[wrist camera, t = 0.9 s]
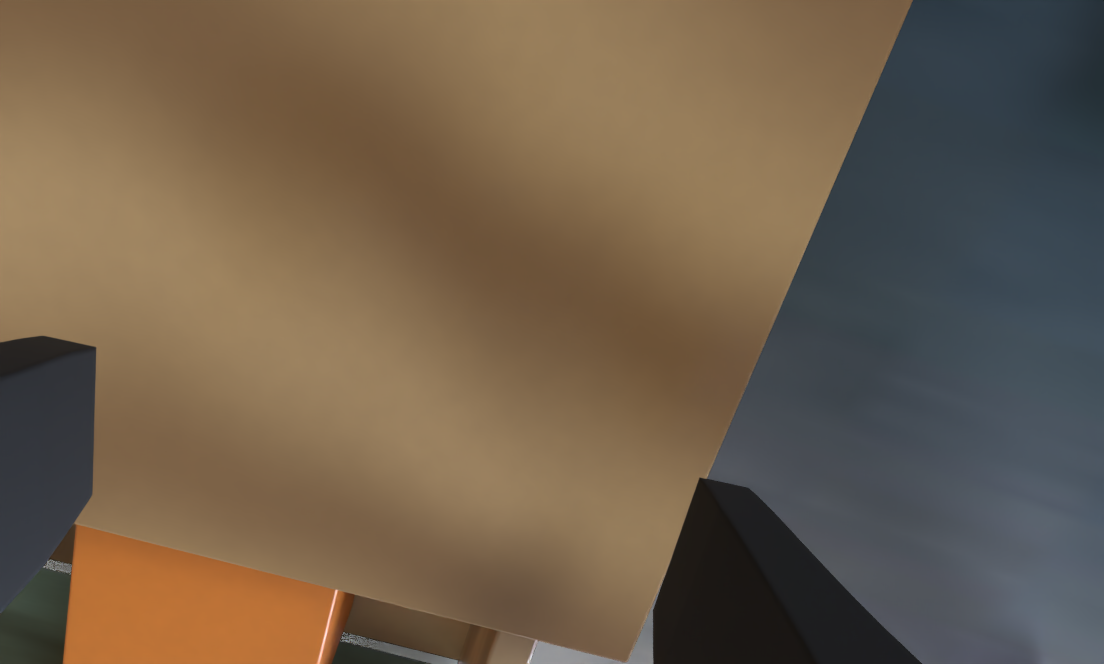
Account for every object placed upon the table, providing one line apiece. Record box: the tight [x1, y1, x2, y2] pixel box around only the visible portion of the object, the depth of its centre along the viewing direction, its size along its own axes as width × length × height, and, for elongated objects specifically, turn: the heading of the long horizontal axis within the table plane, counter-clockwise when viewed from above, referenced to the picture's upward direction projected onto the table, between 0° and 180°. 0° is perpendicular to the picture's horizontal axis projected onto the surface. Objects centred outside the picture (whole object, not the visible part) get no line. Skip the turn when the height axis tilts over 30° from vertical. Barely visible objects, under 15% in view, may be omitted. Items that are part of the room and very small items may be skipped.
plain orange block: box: [63, 524, 355, 664], centre depth 18 cm, size 5×5×5 cm
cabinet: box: [0, 0, 913, 662], centre depth 14 cm, size 14×15×8 cm
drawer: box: [0, 524, 538, 664], centre depth 19 cm, size 17×13×6 cm
